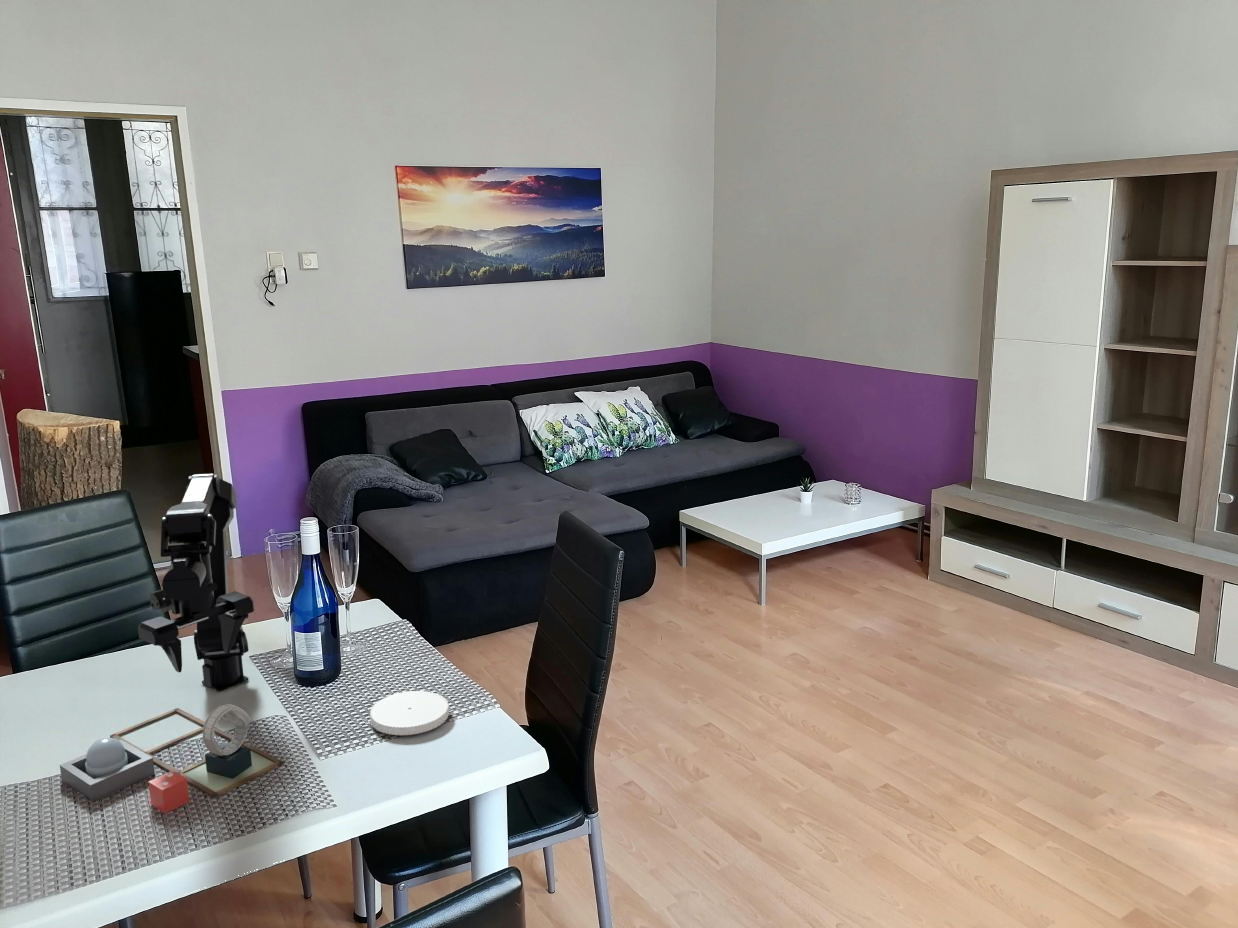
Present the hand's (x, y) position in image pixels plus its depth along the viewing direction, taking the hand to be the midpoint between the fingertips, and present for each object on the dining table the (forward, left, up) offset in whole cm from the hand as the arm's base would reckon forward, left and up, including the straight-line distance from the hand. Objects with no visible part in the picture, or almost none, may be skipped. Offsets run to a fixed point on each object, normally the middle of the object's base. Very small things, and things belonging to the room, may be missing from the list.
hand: (203, 662), depth 169 cm
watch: (+6, +15, -13) cm, 21 cm away
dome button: (+19, +2, -11) cm, 22 cm away
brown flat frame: (+6, +5, -13) cm, 15 cm away
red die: (+17, +17, -13) cm, 27 cm away
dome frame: (+19, +2, -13) cm, 23 cm away
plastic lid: (-23, +27, -13) cm, 38 cm away
